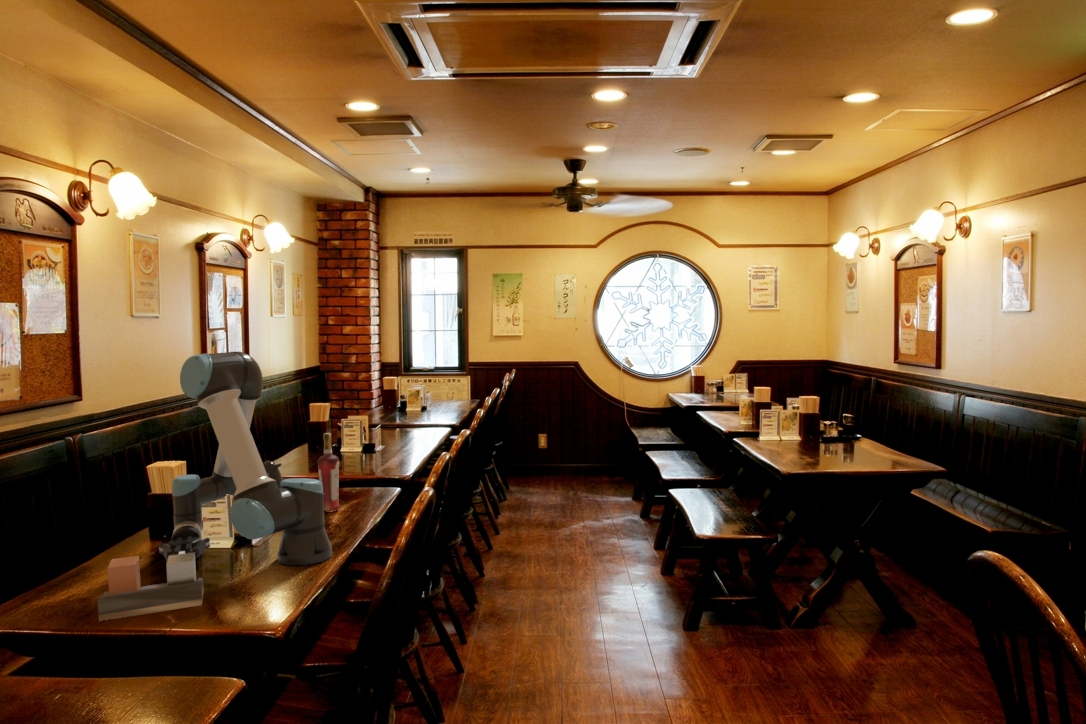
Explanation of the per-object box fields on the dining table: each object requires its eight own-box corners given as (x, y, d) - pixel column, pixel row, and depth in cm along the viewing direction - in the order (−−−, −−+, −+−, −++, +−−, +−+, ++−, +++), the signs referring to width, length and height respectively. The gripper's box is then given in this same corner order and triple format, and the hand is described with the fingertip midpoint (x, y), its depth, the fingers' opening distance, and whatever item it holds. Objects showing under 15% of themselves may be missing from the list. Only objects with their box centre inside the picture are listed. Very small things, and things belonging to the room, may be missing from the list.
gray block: (170, 590, 187) (168, 555, 187) (196, 586, 190) (194, 552, 189) (168, 600, 181) (166, 564, 180) (195, 596, 183) (193, 560, 183)
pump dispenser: (275, 504, 275) (273, 464, 274) (250, 503, 277) (248, 463, 276) (290, 497, 285) (288, 458, 284) (265, 496, 287) (263, 457, 286)
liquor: (323, 508, 268) (320, 431, 266) (343, 507, 268) (340, 431, 266) (316, 513, 261) (313, 435, 259) (337, 513, 261) (334, 435, 259)
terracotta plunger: (113, 594, 186) (111, 559, 185) (140, 590, 188) (138, 555, 187) (109, 604, 179) (107, 568, 178) (137, 600, 181) (135, 564, 181)
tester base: (105, 605, 182) (104, 584, 182) (203, 590, 191) (202, 570, 190) (99, 621, 173) (97, 598, 173) (202, 604, 182) (200, 583, 181)
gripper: (212, 547, 213) (209, 574, 191) (161, 554, 208) (152, 582, 186) (210, 522, 212) (207, 546, 190) (160, 528, 207) (151, 553, 185)
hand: (180, 564), depth 188 cm, fingers closed
